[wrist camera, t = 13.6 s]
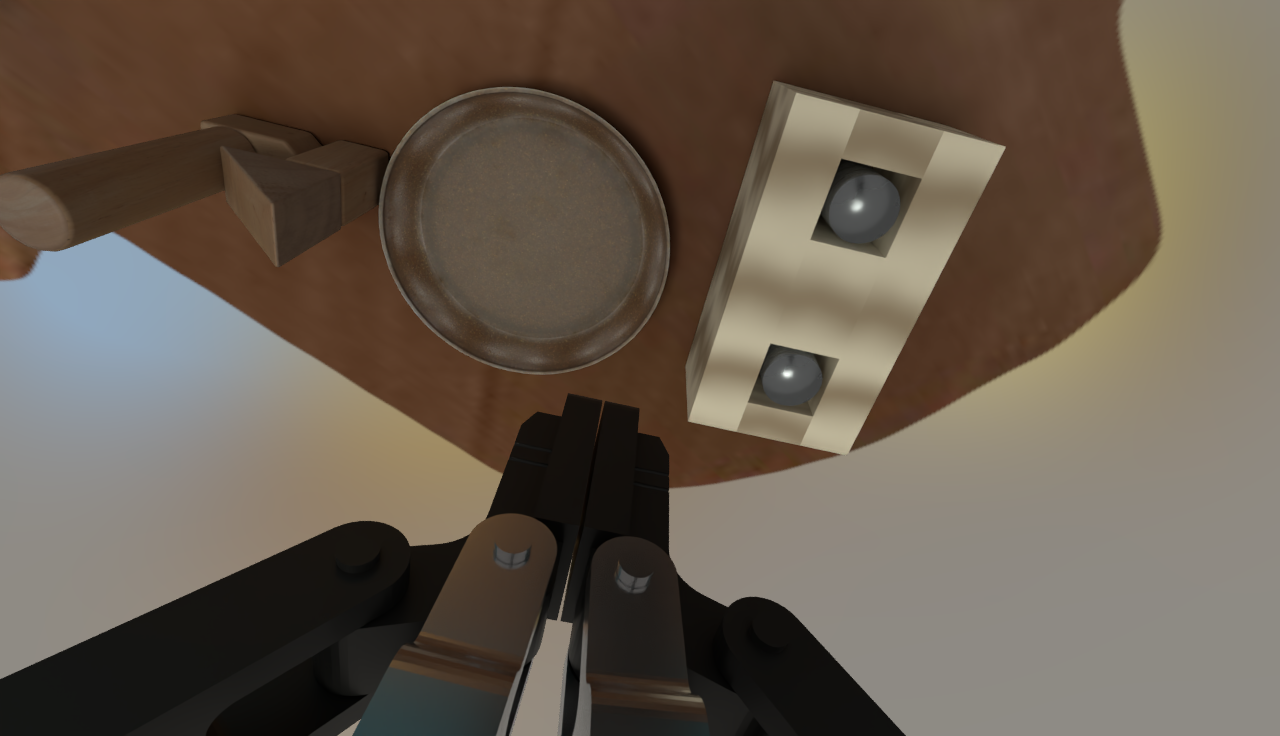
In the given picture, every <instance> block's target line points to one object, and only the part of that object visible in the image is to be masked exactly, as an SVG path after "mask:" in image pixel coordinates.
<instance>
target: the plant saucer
mask: <svg viewBox="0 0 1280 736" xmlns="http://www.w3.org/2000/svg"><path fill="white" fill-rule="evenodd" d="M379 228H380V236H381V242H382V247H383V251H384V254H385V258H386V261H387V264H388V267H389V269H390V272H391V274H392V276H393V278H394V281H395V283H396V284H397V286H398V288H399V290H400V292H401V294H402V295H403V297H404V298H405V300H406V301H407V303H408V304H409V305H410V307H411V308H412V309H413V311H414V312H415V313H416V315H417V316H418V317H419V318H420V319H421V320H422V321H423V322H424V323H425V324H426V325H427V326H428V327H429V328H430V329H431V330H432V331H433V332H434V333H435V334H436V335H437V336H439V337H440V338H441V339H443V340H444V341H445V342H446V343H448V344H450V345H451V346H452V347H454V348H455V349H457V350H459V351H460V352H462V353H464V354H465V355H468V356H470V357H472V358H473V359H476V360H478V361H480V362H482V363H485V364H488V365H490V366H493V367H496V368H500V369H504V370H508V371H513V372H519V373H526V374H556V373H564V372H569V371H573V370H578V369H581V368H584V367H587V366H590V365H592V364H595V363H597V362H599V361H601V360H603V359H605V358H607V357H609V356H610V355H612V354H614V353H615V352H617V351H618V350H620V349H621V348H622V347H623V346H625V345H626V344H627V343H628V342H629V341H630V340H632V339H633V338H634V337H635V336H636V335H637V333H638V332H639V331H640V330H641V329H642V328H643V326H644V325H645V324H646V322H647V321H648V319H649V318H650V316H651V315H652V313H653V311H654V310H655V308H656V306H657V304H658V302H659V299H660V297H661V294H662V292H663V289H664V285H665V282H666V278H667V273H668V268H669V259H670V233H669V225H668V219H667V214H666V210H665V206H664V203H663V200H662V197H661V194H660V192H659V189H658V187H657V185H656V182H655V180H654V179H653V177H652V175H651V173H650V171H649V169H648V168H647V166H646V165H645V163H644V162H643V160H642V159H641V157H640V156H639V155H638V153H637V152H636V151H635V149H634V148H633V147H632V146H631V144H630V143H629V142H628V141H627V140H626V139H625V138H624V137H623V136H622V135H621V134H620V133H619V132H618V131H617V130H616V129H615V128H614V127H612V126H611V125H610V124H609V123H608V122H606V121H605V120H604V119H602V118H601V117H599V116H598V115H597V114H595V113H594V112H592V111H590V110H589V109H587V108H585V107H583V106H581V105H580V104H578V103H575V102H573V101H571V100H569V99H566V98H564V97H561V96H558V95H555V94H552V93H548V92H545V91H541V90H536V89H530V88H519V87H496V88H487V89H481V90H476V91H472V92H469V93H466V94H463V95H460V96H457V97H454V98H452V99H450V100H448V101H446V102H444V103H442V104H441V105H439V106H437V107H436V108H434V109H433V110H431V111H430V112H428V113H427V114H426V115H425V116H423V117H422V118H421V119H420V120H419V121H418V122H417V123H416V124H415V125H414V126H413V127H412V128H411V129H410V130H409V131H408V132H407V133H406V135H405V136H404V137H403V139H402V140H401V142H400V143H399V145H398V146H397V148H396V150H395V151H394V153H393V155H392V157H391V159H390V161H389V164H388V166H387V169H386V172H385V175H384V178H383V182H382V187H381V193H380V200H379Z"/></svg>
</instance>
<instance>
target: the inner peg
mask: <svg viewBox="0 0 1280 736" xmlns="http://www.w3.org/2000/svg"><path fill="white" fill-rule="evenodd" d="M899 211H900V196H899V193H898V191H897V189H896V187H895V186H894V185H893V184H892V183H891V182H890V181H889V180H888V179H886V178H885V177H883V176H882V175H881V174H879V173H878V172H876V171H875V170H874V169H872V168H871V167H869V166H868V165H865V164H861V163H857V162H853V161H850V160H846V159H842V158H841V161H840V163H839V166H838V169H837V171H836V174H835V176H834V179H833V182H832V184H831V187H830V189H829V192H828V195H827V197H826V200H825V202H824V205H823V208H822V210H821V213H820V214H821V216H822V217H823V218H824V219H825V221H826V222H827V223H828V224H829V226H830V227H831V228H832V229H833V231H834V232H835V233H836V234H837V235H838V236H839V237H840V238H841V239H843V240H845V241H847V242H850V243H855V244H862V243H868V242H871V241H874V240H876V239H878V238H880V237H881V236H883V235H884V234H885V233H886V232H887V231H889V229H890V228H891V227H892V226H893V224H894V223H895V221H896V219H897V217H898V214H899Z"/></svg>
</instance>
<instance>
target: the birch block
mask: <svg viewBox="0 0 1280 736" xmlns="http://www.w3.org/2000/svg"><path fill="white" fill-rule="evenodd" d="M1005 148H1006V147H1004V146H1002V145H999V144H996V143H993V142H991V141H988V140H985V139H982V138H980V137H977V136H974V135H972V134H969V133H966V132H963V131H961V130H958V129H955V128H952V127H950V126H947V125H943V124H939V123H935V122H931V121H927V120H924V119H920V118H916V117H912V116H908V115H904V114H901V113H897V112H893V111H889V110H885V109H881V108H878V107H874V106H870V105H866V104H862V103H858V102H854V101H851V100H847V99H843V98H839V97H835V96H831V95H828V94H824V93H820V92H816V91H812V90H808V89H805V88H801V87H797V86H793V85H789V84H785V83H781V82H778V81H773V84H772V87H771V91H770V94H769V97H768V100H767V104H766V107H765V110H764V113H763V117H762V120H761V123H760V126H759V130H758V133H757V136H756V139H755V143H754V146H753V149H752V152H751V155H750V159H749V162H748V165H747V168H746V172H745V175H744V178H743V181H742V185H741V188H740V191H739V194H738V198H737V201H736V204H735V207H734V211H733V214H732V217H731V220H730V224H729V227H728V230H727V233H726V236H725V240H724V243H723V246H722V249H721V253H720V256H719V259H718V262H717V266H716V269H715V272H714V275H713V279H712V282H711V285H710V288H709V292H708V295H707V298H706V301H705V305H704V308H703V311H702V314H701V317H700V321H699V324H698V327H697V330H696V334H695V337H694V340H693V343H692V347H691V350H690V353H689V356H688V360H687V363H686V387H687V410H688V421H689V422H693V423H698V424H703V425H707V426H712V427H717V428H721V429H726V430H731V431H735V432H740V433H745V434H749V435H754V436H759V437H763V438H768V439H773V440H778V441H782V442H787V443H792V444H796V445H801V446H806V447H810V448H815V449H820V450H824V451H829V452H834V453H838V454H843V455H847V454H848V452H849V451H850V449H851V447H852V445H853V443H854V441H855V439H856V437H857V435H858V433H859V431H860V429H861V427H862V425H863V423H864V421H865V419H866V418H867V416H868V414H869V412H870V410H871V408H872V406H873V404H874V402H875V400H876V398H877V396H878V394H879V392H880V390H881V388H882V386H883V385H884V383H885V381H886V379H887V377H888V375H889V373H890V371H891V369H892V367H893V365H894V363H895V361H896V359H897V357H898V355H899V353H900V352H901V350H902V348H903V346H904V344H905V342H906V340H907V338H908V336H909V334H910V332H911V330H912V328H913V326H914V324H915V322H916V320H917V319H918V317H919V315H920V313H921V311H922V309H923V307H924V305H925V303H926V301H927V299H928V297H929V295H930V293H931V291H932V289H933V287H934V286H935V284H936V282H937V280H938V278H939V276H940V274H941V272H942V270H943V268H944V266H945V264H946V262H947V260H948V258H949V256H950V254H951V253H952V251H953V249H954V247H955V245H956V243H957V241H958V239H959V237H960V235H961V233H962V231H963V229H964V227H965V225H966V223H967V221H968V220H969V218H970V216H971V214H972V212H973V210H974V208H975V206H976V204H977V202H978V200H979V198H980V196H981V194H982V192H983V190H984V188H985V187H986V185H987V183H988V181H989V179H990V177H991V175H992V173H993V171H994V169H995V167H996V165H997V163H998V161H999V159H1000V157H1001V155H1002V154H1003V152H1004V150H1005ZM841 158H842V159H846V160H850V161H853V162H857V163H861V164H865V165H869V166H873V169H874V170H875V171H876V172H878V173H879V174H881V175H882V176H883V177H885V178H886V179H888V180H889V181H890V182H891V183H892V184H893V185H894V186H895V187H896V189H897V191H898V193H899V196H900V211H899V214H898V217H897V219H896V221H895V223H894V224H893V226H892V227H891V228H890V229H889V231H887V232H886V233H885V234H884V235H883V236H881V237H880V238H878V239H876V240H874V241H871V242H868V243H862V244H855V243H850V242H847V241H845V240H843V239H841V238H840V237H839V236H838V235H837V234H836V233H835V232H834V231H833V229H832V228H831V227H830V226H829V224H828V223H827V222H826V221H825V219H824V218H823V217H822V216H821V214H820V213H821V210H822V208H823V205H824V202H825V200H826V197H827V195H828V192H829V189H830V187H831V184H832V182H833V179H834V176H835V174H836V171H837V169H838V166H839V163H840V161H841ZM770 343H771V344H775V345H780V346H784V347H789V348H793V349H797V350H802V351H806V352H811V353H814V356H815V358H816V360H817V363H818V365H819V367H820V370H821V372H822V385H821V387H820V389H819V391H818V392H817V394H816V395H815V396H814V397H813V398H812V399H810V400H809V401H807V402H805V403H802V404H799V405H794V406H785V405H780V404H778V403H775V402H774V401H772V400H771V399H770V398H769V397H768V396H767V395H766V393H765V391H764V389H763V385H762V381H761V377H760V373H759V372H760V369H761V366H762V364H763V361H764V359H765V356H766V353H767V351H768V348H769V346H770Z"/></svg>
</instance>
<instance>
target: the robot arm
mask: <svg viewBox="0 0 1280 736" xmlns="http://www.w3.org/2000/svg"><path fill="white" fill-rule="evenodd" d="M601 406H602V400H598V399H593V398H588V397H584V396H579V395H574V394H570V393H568V396H567V399H566V403H565V406H564V410H563V414H562V417H561V416H556V415H551V414H546V413H542V412H536V413H535V414H534V415H533V416H531V417H530V418H529V419H528V420H527V421H525V422H524V423H523V424H522V425H521V428H520V430H519V433H518V436H517V438H516V441H515V445H514V446H513V449H512V452H511V454H510V458H509V460H508V462H507V465H506V468H505V470H504V473H503V476H502V479H501V481H500V484H499V487H498V489H497V492H496V495H495V497H494V500H493V503H492V505H491V508H490V511H489V513H488V515H487V517H486V519H485V520H484V521H482V522H481V523H479V524H478V525H477V526H476V527H475V528H474V529H473V530H472V532H471V533H470V534H469V535H467V536H465V537H464V538H461V539H459V540H456V541H453V542H449V543H443V544H435V545H421V546H409V543H408V541H407V539H406V538H405V536H404V535H403V534H402V533H401V532H400V531H399V530H397V529H396V528H394V527H392V526H390V525H387V524H384V523H380V522H374V521H358V522H351V523H347V524H344V525H341V526H338V527H335V528H333V529H331V530H329V531H326V532H324V533H322V534H320V535H318V536H315V537H313V538H311V539H309V540H306V541H304V542H302V543H300V544H298V545H296V546H293V547H291V548H289V549H287V550H285V551H282V552H280V553H278V554H276V555H273V556H271V557H269V558H267V559H265V560H262V561H260V562H258V563H256V564H254V565H251V566H249V567H247V568H245V569H243V570H240V571H238V572H236V573H234V574H231V575H229V576H227V577H225V578H223V579H220V580H219V581H216V582H214V583H212V584H209V585H207V586H205V587H203V588H201V589H198V590H196V591H194V592H192V593H190V594H188V595H185V596H183V597H181V598H179V599H176V600H174V601H172V602H170V603H168V604H165V605H163V606H161V607H159V608H157V609H154V610H152V611H150V612H148V613H146V614H143V615H141V616H139V617H137V618H134V619H132V620H130V621H128V622H126V623H123V624H121V625H119V626H117V627H115V628H112V629H110V630H108V631H106V632H104V633H101V634H99V635H97V636H95V637H92V638H90V639H88V640H86V641H84V642H81V643H79V644H77V645H75V646H73V647H71V648H68V649H66V650H64V651H62V652H59V653H57V654H55V655H53V656H51V657H48V658H46V659H44V660H42V661H40V662H38V663H35V664H33V665H31V666H29V667H26V668H24V669H22V670H20V671H18V672H15V673H13V674H11V675H9V676H6V677H4V678H2V679H0V736H337V735H339V734H340V733H341V732H343V731H344V730H345V729H347V728H348V727H350V726H351V725H353V724H354V723H356V722H357V721H358V720H360V719H361V720H360V722H359V724H358V726H357V728H356V730H355V731H354V733H353V735H352V736H511V733H512V730H513V726H514V723H515V720H516V716H517V713H518V710H519V706H520V703H521V700H522V696H523V693H524V690H525V686H526V683H527V680H528V676H529V673H530V669H531V666H532V663H533V658H534V656H535V655H536V654H537V652H538V650H539V648H540V645H541V640H542V637H543V632H544V628H545V624H546V619H552V620H557V618H558V613H559V609H560V605H561V601H562V597H563V593H564V588H565V584H566V580H567V576H568V572H569V568H570V563H571V568H570V574H569V578H568V584H567V589H566V595H565V600H564V606H563V611H562V617H561V621H563V622H569V623H573V625H572V631H571V638H570V644H569V648H568V652H567V656H566V660H565V663H564V669H563V680H562V692H561V703H560V715H559V726H558V736H906V735H905V734H904V733H903V732H902V731H901V730H900V729H899V728H898V727H897V726H896V725H895V724H894V723H893V721H892V720H891V719H890V718H889V717H888V716H887V715H886V714H885V713H884V712H883V711H882V710H881V708H880V707H879V706H878V705H877V704H876V703H875V702H874V701H873V700H872V699H871V698H870V697H869V696H868V694H867V693H866V692H865V691H864V690H863V689H862V688H861V687H860V686H859V685H858V684H857V683H856V681H855V680H854V679H853V678H852V677H851V676H850V675H849V674H848V673H847V672H846V671H845V670H844V669H843V667H842V666H841V665H840V664H839V663H838V662H837V661H836V660H835V659H834V658H833V657H832V655H831V654H830V653H829V652H828V651H827V650H826V649H825V648H824V647H823V646H822V645H821V644H820V642H818V640H817V639H816V638H815V637H814V636H813V635H812V634H811V633H810V632H809V631H808V629H806V627H805V626H804V625H803V624H802V623H801V622H800V621H799V620H798V619H797V618H796V617H795V616H794V615H793V614H792V613H791V612H790V611H788V610H787V609H786V608H785V607H783V606H781V605H779V604H778V603H775V602H773V601H771V600H768V599H765V598H760V597H746V598H741V599H739V600H737V601H735V602H733V603H732V604H731V605H730V606H729V607H726V606H724V605H722V604H720V603H718V602H716V601H714V600H712V599H710V598H708V597H706V596H704V595H702V594H701V593H699V592H697V591H696V590H694V589H693V588H691V587H690V586H689V585H688V584H687V583H686V582H685V581H683V579H682V578H681V577H680V576H679V575H678V573H677V571H676V568H675V565H674V563H673V561H672V560H671V558H670V556H669V493H668V491H669V477H668V476H669V454H668V452H667V450H666V449H665V447H664V445H663V443H662V441H661V439H660V438H659V437H656V436H651V435H647V434H642V433H638V422H639V408H636V407H631V406H626V405H622V404H617V403H612V402H608V401H605V404H604V408H603V412H602V416H601V420H600V424H599V429H598V433H597V428H598V422H599V417H600V411H601ZM596 433H597V437H596ZM595 439H596V441H595ZM594 444H595V446H594ZM572 556H573V557H572ZM571 560H572V562H571Z"/></svg>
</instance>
